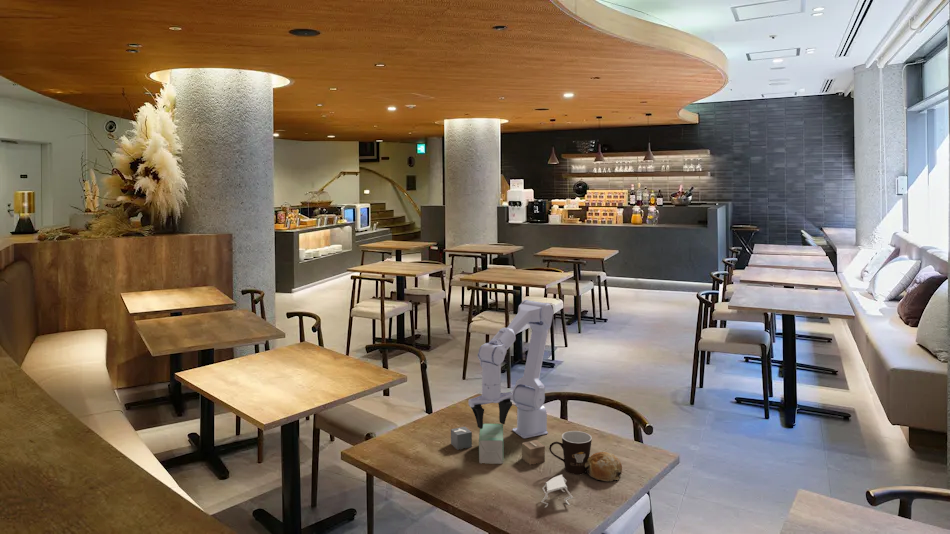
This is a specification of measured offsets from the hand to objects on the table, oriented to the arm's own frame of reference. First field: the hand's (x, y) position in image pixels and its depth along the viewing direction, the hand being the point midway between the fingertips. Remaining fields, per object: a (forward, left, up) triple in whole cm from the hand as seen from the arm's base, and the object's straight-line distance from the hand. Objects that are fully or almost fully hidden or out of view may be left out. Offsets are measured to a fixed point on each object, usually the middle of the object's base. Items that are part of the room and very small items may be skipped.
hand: (491, 425), depth 192 cm
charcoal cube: (+6, -9, -9) cm, 14 cm away
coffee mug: (-16, +20, -9) cm, 27 cm away
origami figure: (-3, +32, -9) cm, 34 cm away
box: (0, +1, -9) cm, 9 cm away
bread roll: (-22, +27, -9) cm, 36 cm away
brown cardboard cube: (-9, +10, -9) cm, 16 cm away
